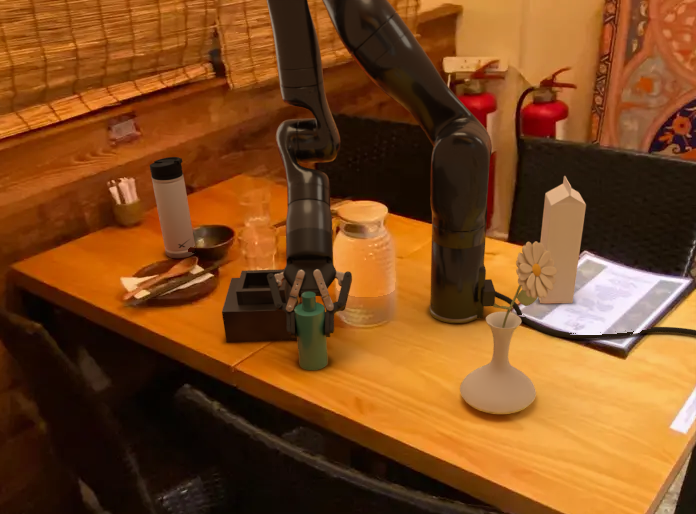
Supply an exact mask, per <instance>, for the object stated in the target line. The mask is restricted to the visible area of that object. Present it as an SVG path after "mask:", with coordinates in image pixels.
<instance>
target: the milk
mask: <svg viewBox="0 0 696 514" xmlns="http://www.w3.org/2000/svg"><path fill="white" fill-rule="evenodd" d="M586 209H587V204H586V202H585V200H584V199H583V197H582V195H581V194H580V192H579V191H578V190H575V189H574V188H573V187H572V185H571V184H570V182H569V180H568V178H567V176H566V175H564V176H563V181H562V183H561V184H559V185H557V186H556V187H554V188H552V189H550V190H548V191H546V192H545V195H544V204H543V213H542V223H541V232H540V242H539V243H542V245H543V246H544V250H546V251H549V252H550V253H551V258H552V260H553V261H554V266H553V267H554V268H556V270H557V273H556V274H555V275H553V276H554V278H555V283H554V284H553V287H554V288H553V290H549V289H547V291H548V293H547V297H546V298H544V297H542V298H539V297H538V298H537V299H538V301H539V304H573V302H574V295H575V288H576V280H577V272H578V267H579V259H580V251H581V244H582V238H583V231H584V222H585V217H586V216H585V214H586Z"/></svg>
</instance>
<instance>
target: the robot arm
mask: <svg viewBox="0 0 696 514" xmlns="http://www.w3.org/2000/svg"><path fill="white" fill-rule="evenodd" d="M321 1H322V3H323V6H324V9H326V13H327V14H328V17H329V19H330V21H331V24H332V26H333V28H334V30H335V33H336V34H337V36H338V38H339V40H340V41H341V43H342V45H343V46H344V48H345V49H346V51H347V52H348V53H349V55H350V57H351V58H352V59H353V60H354V61H355V63H356V64H357V65H358V67H359V68H360V69H361V70H362V71H363V73H364V74H365V76H367V77H368V79H369V80H370V81H371V82H372V83H374V85H375V86H376V87H378V88H379V89H380V90H381V91H382V92H383V93H384V94H386V95H387V96H389V97H390V98H391V99H392V100H394V101H395V102H396V103H398V104H399V105H400V106H401V107H403V108H404V109H405V110H406V111H407V112H408V113H409V114H410V115H411V116H412V117H413V119H414V120H415V121H416V123H417V124H418V125H419V126H420V128H421V130H423V132H424V135H426V137H427V139H428V140H429V142H430V143H431V145H432V147H433V148H432V152H431V156H430V157H431V158H430V210H431V245H430V247H431V249H430V250H431V251H430V253H431V254H430V296H429V297H430V299H429V313H430V315H431V316H432V318H434V319H436V320H438V321H440V322H443V323H449V324H464V323H470V322H473V321H475V320H478V319H483V318H484V307H485V308H486V307H488V308H489V307H493V306H494V304H495V303H496V298H497V299H498V300H501V301H503V302H504V303H507V304H508V305H509V306H510V305H511V303H512V300H513V299H512V298H510V297H509V296H507V295H506V294H505V295H504V294H503V293H501V292H498V291H496V289H495V285H494V283H493V280H492V279H491V278H489V279H486V274H487V269H486V265H485V254H486V237H487V222H488V195H489V194H488V193H489V180H490V179H489V178H490V177H489V176H490V165H491V164H490V163H491V157H492V150H493V149H492V148H493V145H492V139H491V137H490V134H489V132H488V130H487V129H486V127H485V126H484V125H483V124H482V123H481V121H480V120H479V119H478V118H477V117H476V116H475V115H474V114H473V113H472V112H471V111H470V110H469V109H468V108H467V107H466V105H465V104H464V103H463V102H462V101H461V100H460V99H459V98H458V97H457V95H456V94H455V93H454V92H453V91H452V89H450V87H449V86H448V85H447V83H446V82H445V81H444V79H443V78H442V76H441V74H440V72H439V71H438V69H437V68H436V66H435V65H434V63H433V61H432V60H431V58H430V57H429V56H428V54H427V53H426V51H425V50H424V48H423V46H422V45H421V44H420V42H419V41H418V40H417V38H416V36H415V35H414V33H413V32H412V30H411V29H410V28H409V26H408V25H407V24H406V23H405V21H404V19H403V18H402V17H401V15H400V14H399V12H398V11H397V10H396V9H395V7H394V6H393V5H392V4H391V2H389V0H321ZM266 5H267V8H268V14H269V19H270V25H271V30H272V36H273V37H272V38H273V44H274V50H275V59H276V60H275V61H276V66H277V75H278V76H277V77H278V83H279V89H280V96H281V99H282V101H283V103H284V104H286V105H288V106H291V107H295V108H302V109H305V110H307V111H309V112H310V113H311V114H312V115H313V116H314V117H311V118H292V119H285V120H284V121H282V122H280V124H279V125H278V127H277V128H276V133H275V144H276V148H277V151H278V154H279V157H280V161H281V163H282V166H283V171H284V174H285V178H286V192H287V193H286V195H287V197H286V199H287V200H286V201H287V203H286V204H287V205H286V206H287V208H286V209H287V210H286V218H285V220H286V221H285V254H286V255H285V260H286V261H285V267H284V268H283V269H284V271H283V272H282V273H279V274H275V275H274V274H273V273H269V274H268V275H267V279H268V283H269V286H270V290H271V294H272V297H273V301H274V304H275V307H276V310H277V311H278V312H282V313H285V314H286V329H287V332H288V334H289V335H290V334H291V337H292V338H296V323H295V312H294V309H295V307H296V306H297V305H298V304H299V302H300V299H301V297H302V293H304V292H308V291H310V292H314V293H315V294H316V297H320V299H321V301H322V303H323V306H324V307H325V336H326V337H327V338H331V335H332V334H334V332H335V315H336V313H338V312H343V311H345V310H346V307H347V302H348V299H349V295H350V290H351V287H352V284H353V283H352V282H353V275H352V272H351V271H345V272H342V271H338V270H336V267H335V266H334V246H333V245H334V242H333V241H334V240H333V239H334V238H333V235H334V229H333V217H332V213H331V212H332V210H331V183H330V179H329V176H328V175H327V173H325V172H323V171H321V170H318V169H314V168H310V167H306V166H303V165H301V164H316V163H317V164H319V163H329V162H333V161H334V160H335V159H336V158H337V157H338V155H339V153H340V151H341V136H340V133H339V129H338V127H337V124H336V122H335V119H334V117H333V114H332V111H331V109H330V106H329V102H328V99H327V94H326V89H325V82H324V81H325V80H324V73H323V72H324V71H323V63H322V62H323V60H322V54H321V47H320V42H319V38H318V33H317V30H316V26H315V23H314V19H313V16H312V13H311V8H310V6H309V1H308V0H266ZM335 279H336V280H337V284H338V286H339V287H340V290H339V294H338V298H337V301H334V302H333V301H332V299H331V296H330V293H329V290H328V289H329V288H330V286H332V284H333V282H334V281H335ZM283 280H286V281H287V282H288V284H289V285H290V286H291V287H292V290H291V293H290V297H289V300H288V303H287V304H285V303H282V300H281V296H280V292H279V289H278V288H280V287H282V281H283ZM512 309H513V310H514V311H515V313H516V315H517V316H518V315H522V314H523V312H522V310H521V308H520V306H519V305H518V303H516V301H515V302H514V304H513V306H512ZM520 318H521V322H523V323H524V324H526V325H527V326H529V327H531V328H533V329H535V330H537V331H539V332H541V333H543V334H546V335H551V336H556V337H560V338H567V339H574V340H591V339H606V338H608V339H609V338H621V337H628V336H633V335H632V334H633V332H634V331H633V332H627V333H617V334H602V335H570V334H572V333H573V334H574V333H575V334H576V333H577V332H570V331H563V330H558V329H553V328H549V327H548V328H547V327H544V326H541V325H539V324H537V323H535V322H534V321H532V320H531V319H529V318H528V317H527V316H525V317H520ZM650 327H651V329H647V330H642V331H641V332H640V333H638V334H637V335H641V334H649V333H650V334H652V333H670V334H683V335H690V336H696V329H693V328H692V329H691V328H686V327H677V326H675V327H674V326H650ZM569 332H570V333H569ZM630 334H631V335H630Z"/></svg>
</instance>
